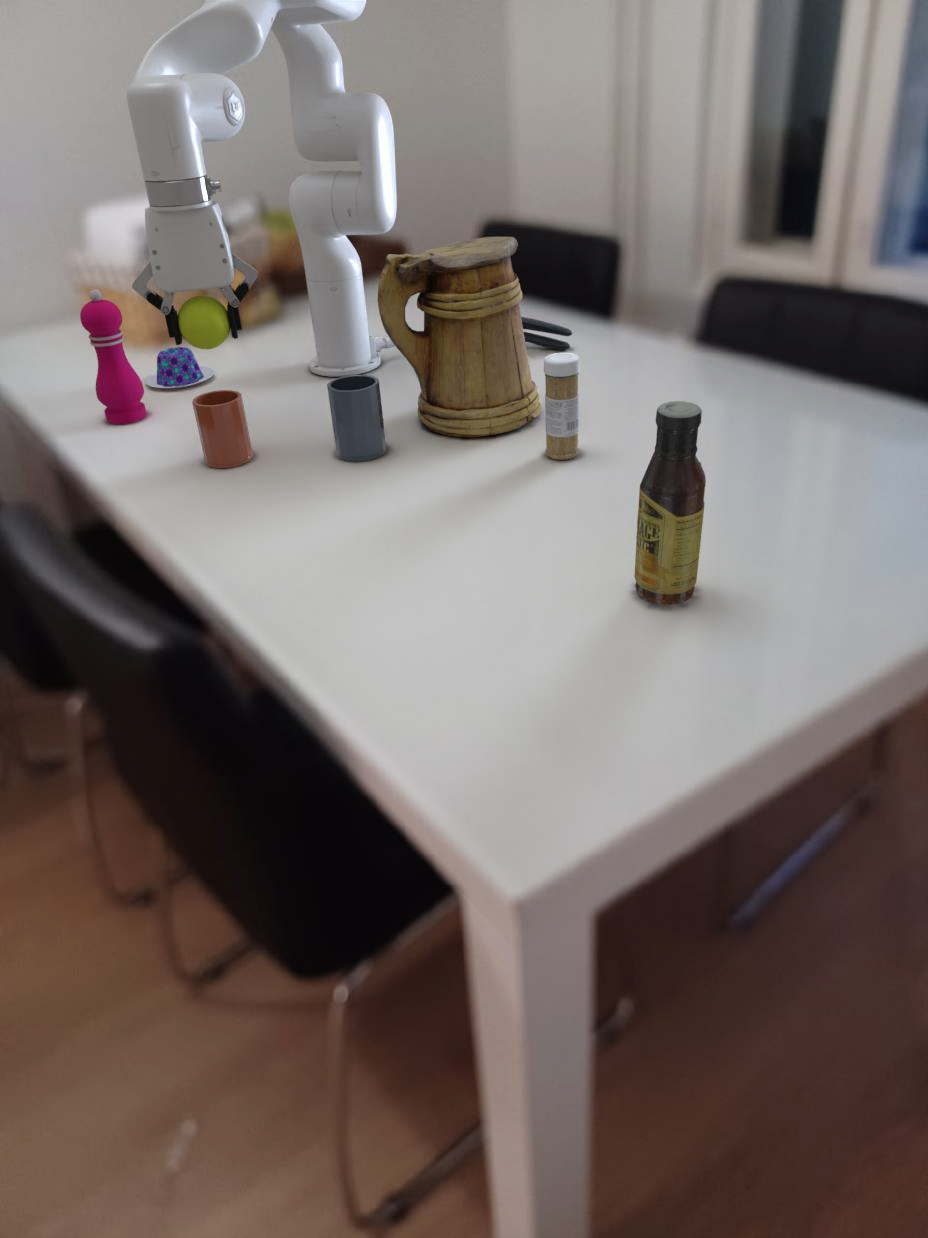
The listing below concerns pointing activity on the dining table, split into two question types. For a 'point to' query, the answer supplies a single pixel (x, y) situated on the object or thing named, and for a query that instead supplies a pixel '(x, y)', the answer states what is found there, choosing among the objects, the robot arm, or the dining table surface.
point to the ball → (203, 322)
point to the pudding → (177, 369)
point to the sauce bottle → (671, 509)
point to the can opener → (548, 328)
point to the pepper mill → (112, 362)
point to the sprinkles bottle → (561, 405)
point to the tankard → (463, 335)
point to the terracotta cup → (223, 428)
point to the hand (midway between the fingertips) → (207, 337)
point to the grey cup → (357, 417)
